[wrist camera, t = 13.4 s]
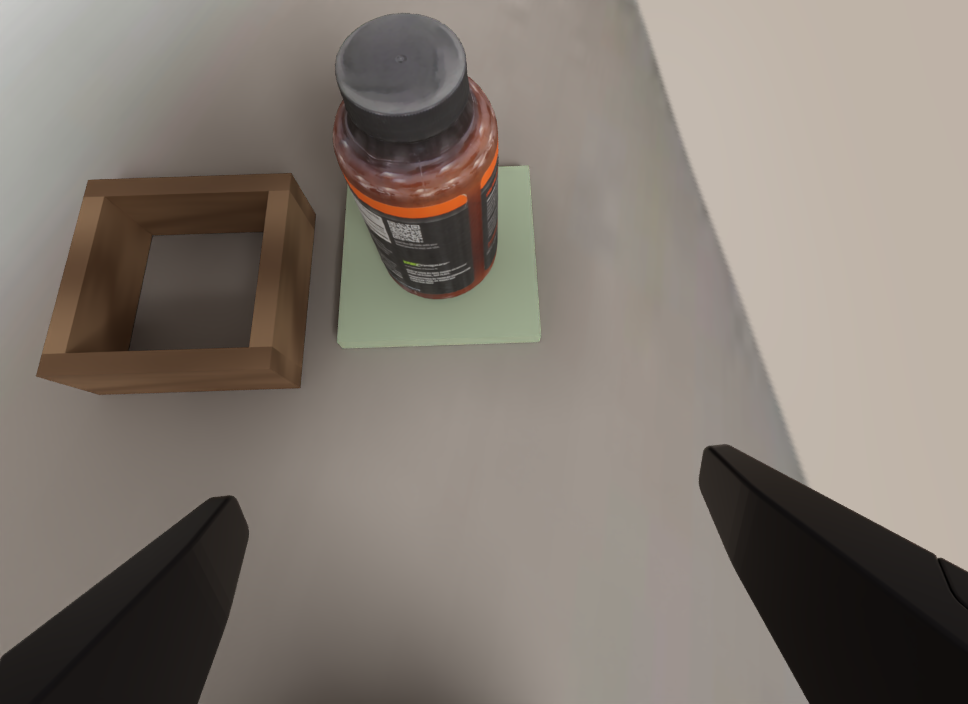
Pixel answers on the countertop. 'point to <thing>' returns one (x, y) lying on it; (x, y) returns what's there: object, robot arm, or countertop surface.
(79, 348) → the walnut collar
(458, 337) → the sage rubber mat
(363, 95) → the supplement bottle
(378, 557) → the countertop surface
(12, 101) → the countertop surface
